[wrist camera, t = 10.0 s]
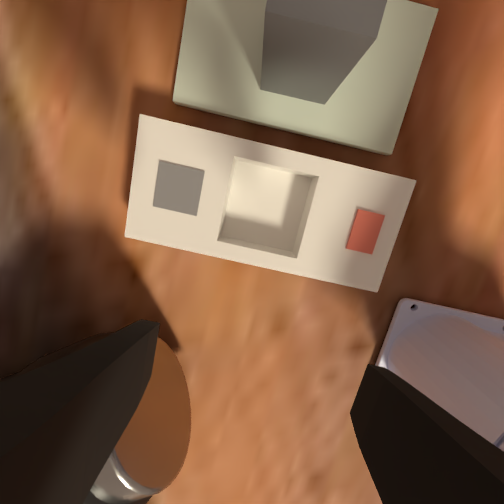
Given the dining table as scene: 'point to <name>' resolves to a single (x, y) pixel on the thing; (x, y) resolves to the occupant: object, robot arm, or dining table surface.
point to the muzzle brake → (142, 432)
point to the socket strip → (263, 204)
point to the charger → (315, 44)
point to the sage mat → (293, 109)
